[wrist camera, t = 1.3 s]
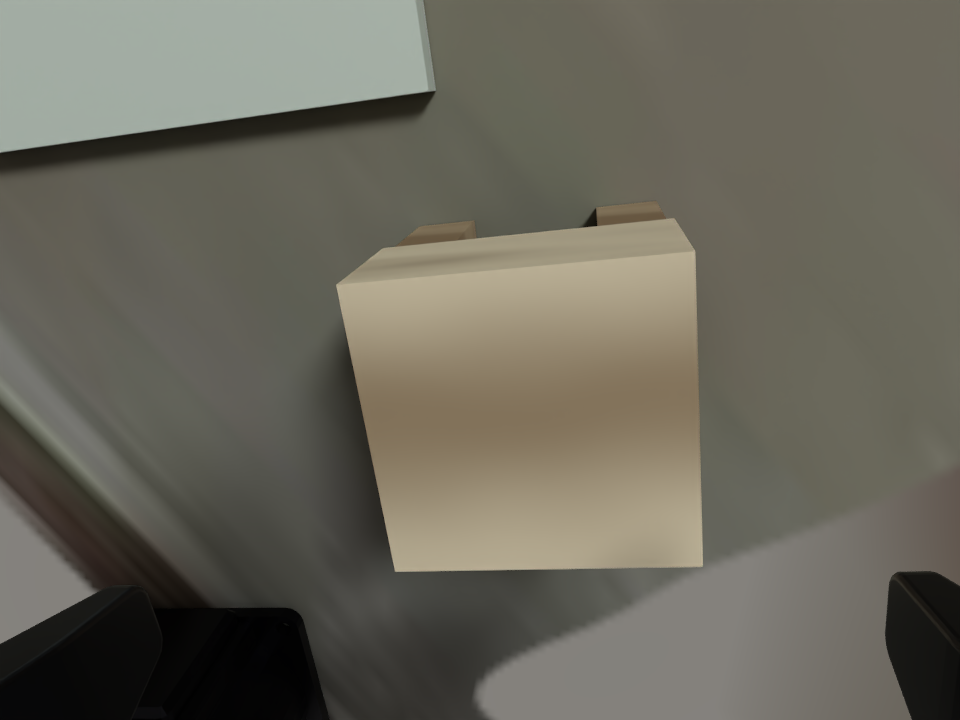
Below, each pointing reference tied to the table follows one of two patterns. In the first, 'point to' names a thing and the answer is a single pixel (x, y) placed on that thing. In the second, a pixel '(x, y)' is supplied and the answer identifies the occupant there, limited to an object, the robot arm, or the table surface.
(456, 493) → the tan box with tabs
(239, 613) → the robot arm
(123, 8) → the board
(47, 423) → the table surface
